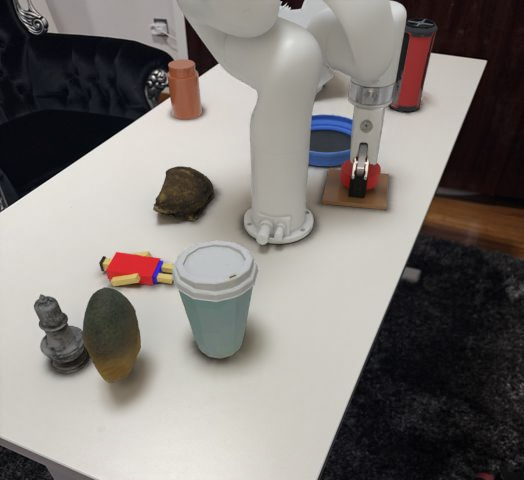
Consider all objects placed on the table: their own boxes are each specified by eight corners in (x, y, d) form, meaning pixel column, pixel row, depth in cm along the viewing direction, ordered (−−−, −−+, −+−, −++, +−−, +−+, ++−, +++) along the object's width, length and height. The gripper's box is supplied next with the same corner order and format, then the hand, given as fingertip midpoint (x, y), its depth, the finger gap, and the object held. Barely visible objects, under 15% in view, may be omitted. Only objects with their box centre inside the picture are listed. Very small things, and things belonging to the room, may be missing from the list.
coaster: (385, 210, 92) (386, 206, 92) (321, 203, 94) (322, 200, 93) (387, 177, 100) (388, 173, 99) (328, 171, 102) (328, 168, 101)
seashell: (180, 177, 100) (183, 145, 94) (221, 193, 99) (226, 163, 94) (141, 220, 90) (142, 187, 84) (186, 239, 89) (190, 207, 84)
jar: (197, 120, 118) (192, 70, 110) (168, 118, 119) (161, 68, 111) (205, 108, 123) (200, 59, 114) (177, 105, 124) (171, 57, 115)
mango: (117, 349, 70) (88, 266, 58) (159, 354, 69) (137, 271, 58) (90, 405, 63) (52, 323, 52) (135, 411, 63) (107, 330, 51)
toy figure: (179, 255, 81) (108, 245, 81) (167, 282, 76) (92, 271, 77) (180, 267, 83) (111, 257, 83) (169, 294, 78) (96, 283, 79)
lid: (341, 168, 98) (343, 156, 97) (379, 171, 97) (381, 159, 95) (338, 188, 94) (339, 176, 92) (378, 191, 93) (380, 179, 91)
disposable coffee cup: (171, 335, 71) (153, 251, 60) (233, 305, 75) (227, 221, 64) (208, 382, 66) (196, 299, 54) (274, 347, 70) (275, 263, 58)
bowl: (328, 122, 117) (329, 107, 114) (383, 151, 107) (386, 135, 104) (266, 144, 110) (266, 128, 107) (319, 178, 100) (321, 161, 97)
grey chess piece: (88, 373, 67) (60, 309, 58) (44, 376, 67) (9, 312, 58) (95, 341, 71) (69, 277, 62) (53, 344, 71) (22, 280, 62)
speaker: (413, 115, 119) (431, 29, 105) (383, 108, 121) (397, 24, 108) (424, 103, 123) (443, 20, 109) (395, 97, 126) (410, 14, 112)
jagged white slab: (271, 104, 117) (263, -26, 105) (257, 102, 131) (249, -14, 118) (352, 97, 120) (353, -31, 108) (330, 95, 134) (329, -18, 122)
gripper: (392, 114, 77) (375, 212, 90) (394, 71, 88) (379, 164, 101) (344, 111, 78) (334, 208, 91) (352, 69, 89) (342, 161, 103)
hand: (358, 184), depth 96 cm, fingers closed on lid, 7 cm apart
